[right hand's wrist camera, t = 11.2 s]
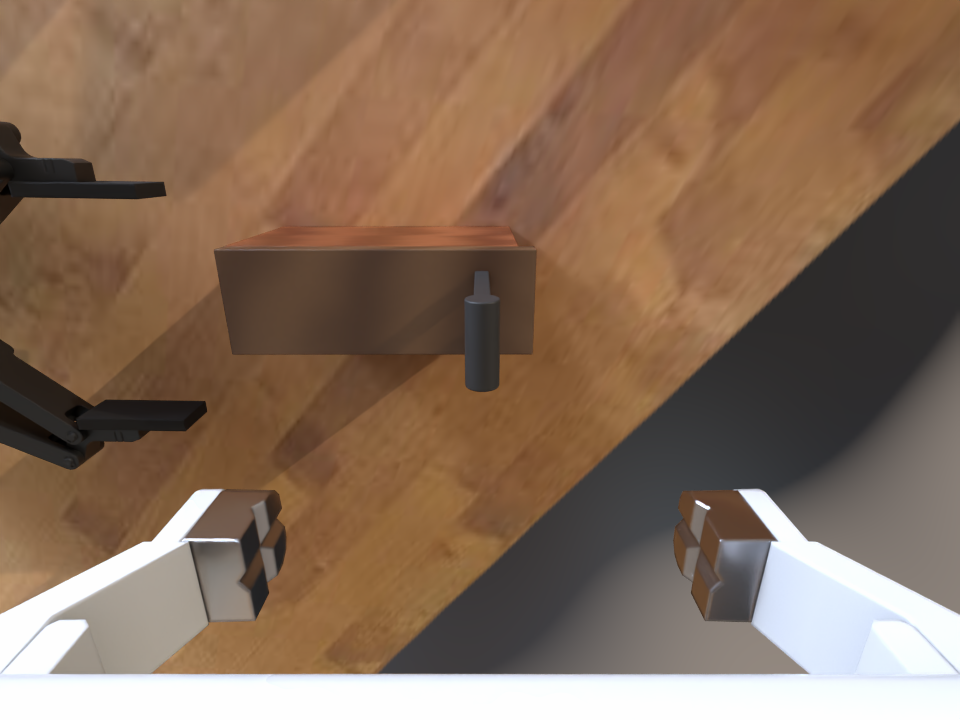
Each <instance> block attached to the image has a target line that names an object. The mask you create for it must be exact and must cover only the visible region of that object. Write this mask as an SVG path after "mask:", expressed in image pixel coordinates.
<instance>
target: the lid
mask: <svg viewBox="0 0 960 720" xmlns="http://www.w3.org/2000/svg"><path fill="white" fill-rule="evenodd" d="M536 252H537V250H536V248H535V247H534V246H224V247H221V248H218V249H215V250H214V254H215V259H216V265H217V271H218V276H219V282H220V287H221V293H222V298H223V304H224V310H225V315H226V321H227V326H228V332H229V337H230V343H231V349H232V354H465V385H466V387H467V388H468V389H470V390H473V391H477V392H487V391H492V390H495V389H497V388H498V386H499V363H500V354H533V332H534V306H535V279H536Z"/></svg>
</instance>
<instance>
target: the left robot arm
mask: <svg viewBox="0 0 960 720" xmlns="http://www.w3.org/2000/svg"><path fill="white" fill-rule="evenodd" d="M20 141H21V134H20V132H19V130H18V128H17V127H16V126H15V125H13V124H11V123H8V122H0V224H1V223H2V222H3V221H4V219H5V218H6V217H7V216H8V215H9V214H10V213H11V211H12V210H13V209H14V208H15V207H16V206H17V205H18V203H19V202H20V201H21V200H22V199H23V198H24V197H35V198H98V199H143V198H152V197H161V196H166V191H165V186H164V182H134V181H96V179H95V175H94V171H93V166H92V163H91V162H88V161H86V160H83V159H65V158H35V157H32V156H30V155H29V154H27V153H26V152H25V151H24V149H23V148H22V147H21V145H20ZM13 353H14V349H13V348H12V347H11V346H10V345H8V344H7V343H5V342H3V341H2V340H0V443H2V444H5V445H7V446H10V447H13V448H15V449H18V450H20V451H23V452H25V453H28V454H31V455H33V456H36V457H38V458H41V459H43V460H46V461H48V462H51V463H54V464H56V465H59V466H61V467H64V468H66V469H70V470H72V469H76V468H77V467H79V466H80V465H81V464H83V463H84V462H85V461H87V460H88V459H89V458H91V457H92V456H93V455H95V454H96V453H97V452H99V451H100V450H101V449H102V448H103V447H104V441H115V442H116V441H118V442H123V441H124V442H133V441H136V440H139V439H141V438H142V437H143V436H144V435H146V434H147V433H148V432H149V431H186V430H187V429H189V428H190V427H191V426H192V425H193V424H194V423H195V422H196V421H197V420H198V419H199V418H201V417H202V416H203V415H204V414H205V413H206V412H207V408H206V403H205V401H160V400H105V401H103V402H101V403H100V404H98V405H97V406H95V407H94V406H92V405H91V404H89V403H87V402H86V401H84V400H83V399H81V398H80V397H78V396H77V395H75V394H73V393H72V392H70V391H69V390H67V389H66V388H64V387H63V386H61V385H59V384H58V383H56V382H55V381H53V380H52V379H50V378H49V377H47V376H45V375H44V374H42V373H41V372H39V371H38V370H36V369H35V368H33V367H31V366H30V365H28V364H27V363H25V362H24V361H22V360H21V359H19V358H17V357H16V356H15V355H14V354H13ZM74 421H76V422H74Z"/></svg>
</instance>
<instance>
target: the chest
mask: <svg viewBox="0 0 960 720" xmlns="http://www.w3.org/2000/svg"><path fill="white" fill-rule="evenodd" d="M227 246H518V245H517V243H516V241H515V238H514V236H513V234H512V232H511V230H510V227H509V226H462V227H281V228H278V229H275V230H272V231H269V232H266V233H263V234H260V235H257V236H254V237H251V238H248V239H245V240H242V241H239V242H236V243H233V244H230V245H227Z"/></svg>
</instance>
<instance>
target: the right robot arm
mask: <svg viewBox="0 0 960 720" xmlns="http://www.w3.org/2000/svg"><path fill="white" fill-rule="evenodd" d="M281 509H282V506H281V502H280V497H279V494H278V493H277V492H276V491H275V490H238V489H226V490H224V489H201V490H198V491H196V492H195V493H194V494H193V495H192V496H191V497H190V498H189V499H188V501H187V502H186V503H185V504H184V505H183V506H182V507H181V509H180V510H179V511H178V512H177V513H176V514H175V516H174V517H173V518H172V519H171V520H170V521H169V522H168V524H167V525H166V526H165V527H164V528H163V529H162V530H161V532H160V533H159V534H158V535H157V536H156V537H155V538H154V540H153V541H152V542H142V543H140V544H138V545H136V546H134V547H132V548H130V549H128V550H126V551H124V552H122V553H120V554H118V555H116V556H115V557H113V558H111V559H109V560H107V561H105V562H103V563H101V564H99V565H97V566H95V567H93V568H91V569H89V570H87V571H85V572H83V573H81V574H79V575H77V576H75V577H73V578H71V579H69V580H67V581H65V582H63V583H61V584H59V585H57V586H55V587H53V588H52V589H50V590H48V591H46V592H44V593H42V594H40V595H38V596H36V597H34V598H32V599H30V600H28V601H26V602H24V603H22V604H20V605H18V606H16V607H14V608H12V609H10V610H8V611H6V612H4V613H2V614H0V720H960V615H959V614H957V613H955V612H953V611H951V610H949V609H947V608H946V607H944V606H941V605H940V604H938V603H936V602H934V601H932V600H930V599H928V598H926V597H924V596H922V595H920V594H918V593H916V592H914V591H912V590H910V589H908V588H906V587H904V586H902V585H900V584H898V583H896V582H894V581H893V580H891V579H889V578H887V577H885V576H883V575H881V574H879V573H877V572H875V571H873V570H871V569H869V568H867V567H865V566H863V565H861V564H859V563H857V562H855V561H853V560H851V559H849V558H847V557H845V556H843V555H841V554H840V553H838V552H836V551H834V550H832V549H830V548H828V547H826V546H824V545H822V544H820V543H818V542H808V541H807V540H806V538H805V537H804V536H803V535H802V534H801V533H800V532H799V530H798V529H797V528H796V527H795V526H794V525H793V524H792V522H791V521H790V520H789V519H788V518H787V517H786V516H785V514H784V513H783V512H782V511H781V510H780V509H779V508H778V506H777V505H776V504H775V503H774V502H773V501H772V499H771V498H770V497H769V496H768V495H767V494H766V493H765V492H764V491H762V490H760V489H738V490H712V491H683V493H682V495H681V497H680V501H679V506H678V509H679V511H680V512H681V514H682V516H683V519H682V520H681V521H680V522H679V523H678V524H677V525H676V526H675V532H674V540H673V541H674V553H675V558H676V561H677V565H678V567H679V569H680V571H681V573H682V575H683V576H684V577H686V578H687V579H689V580H690V581H691V582H693V584H692V590H691V594H692V596H693V598H694V600H695V602H696V604H697V606H698V608H699V610H700V612H701V614H702V616H703V618H704V620H705V621H726V622H752V623H751V625H752V626H754V627H755V628H756V629H757V630H758V631H760V632H761V633H762V634H763V635H764V636H766V637H767V638H768V639H769V640H770V641H771V642H773V643H774V644H775V645H776V646H777V647H778V648H780V649H781V650H782V651H783V652H784V653H785V654H787V655H788V656H789V657H790V658H791V659H793V660H794V661H795V662H796V663H797V664H798V665H800V666H801V667H802V668H803V669H804V670H805V671H807V672H808V673H809V674H151V673H152V672H153V671H155V670H156V669H157V668H158V667H159V666H161V665H162V664H163V663H164V662H165V661H166V660H168V659H169V658H170V657H171V656H172V655H174V654H175V653H176V652H177V651H178V650H179V649H181V648H182V647H183V646H184V645H185V644H187V643H188V642H189V641H190V640H191V639H192V638H194V637H195V636H196V635H197V634H198V633H200V632H201V631H202V630H203V629H204V628H205V627H207V626H208V625H209V623H208V622H233V621H255V620H256V618H257V616H258V614H259V612H260V610H261V608H262V606H263V604H264V602H265V600H266V598H267V596H268V594H269V590H268V584H267V582H269V581H270V580H272V579H273V578H274V577H276V576H277V575H278V573H279V571H280V569H281V567H282V565H283V561H284V557H285V552H286V531H285V526H284V525H283V524H282V523H281V522H280V521H279V520H278V519H277V516H278V514H279V512H280V511H281Z"/></svg>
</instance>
